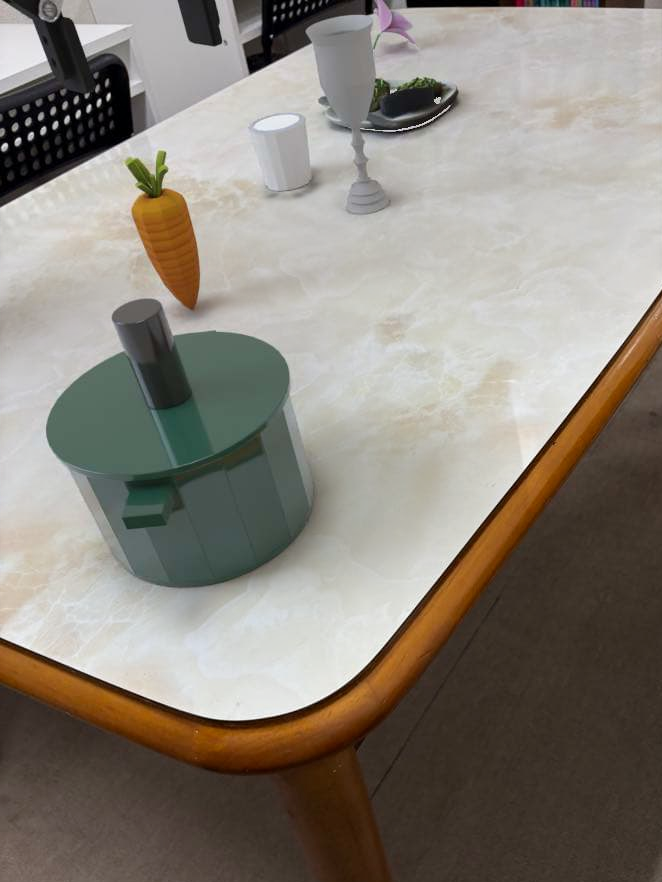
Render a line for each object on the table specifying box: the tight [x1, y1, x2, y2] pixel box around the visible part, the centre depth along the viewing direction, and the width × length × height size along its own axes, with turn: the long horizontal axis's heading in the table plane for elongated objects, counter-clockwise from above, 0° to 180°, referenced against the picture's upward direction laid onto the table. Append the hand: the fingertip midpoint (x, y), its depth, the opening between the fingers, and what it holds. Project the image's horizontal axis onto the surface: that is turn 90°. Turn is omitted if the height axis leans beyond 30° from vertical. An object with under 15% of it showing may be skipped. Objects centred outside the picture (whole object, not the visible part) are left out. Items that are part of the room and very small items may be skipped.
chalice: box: [305, 14, 390, 215], centre depth 91 cm, size 7×7×18 cm
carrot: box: [124, 150, 201, 311], centre depth 79 cm, size 5×5×15 cm
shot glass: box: [247, 112, 313, 192], centre depth 103 cm, size 7×7×7 cm
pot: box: [67, 330, 314, 588], centre depth 58 cm, size 15×20×10 cm
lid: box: [45, 297, 292, 481], centre depth 53 cm, size 16×16×7 cm
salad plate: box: [317, 76, 460, 134], centre depth 118 cm, size 19×18×5 cm
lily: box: [372, 0, 420, 51], centre depth 139 cm, size 12×12×10 cm
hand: (145, 65), depth 55 cm, fingers open, 9 cm apart
